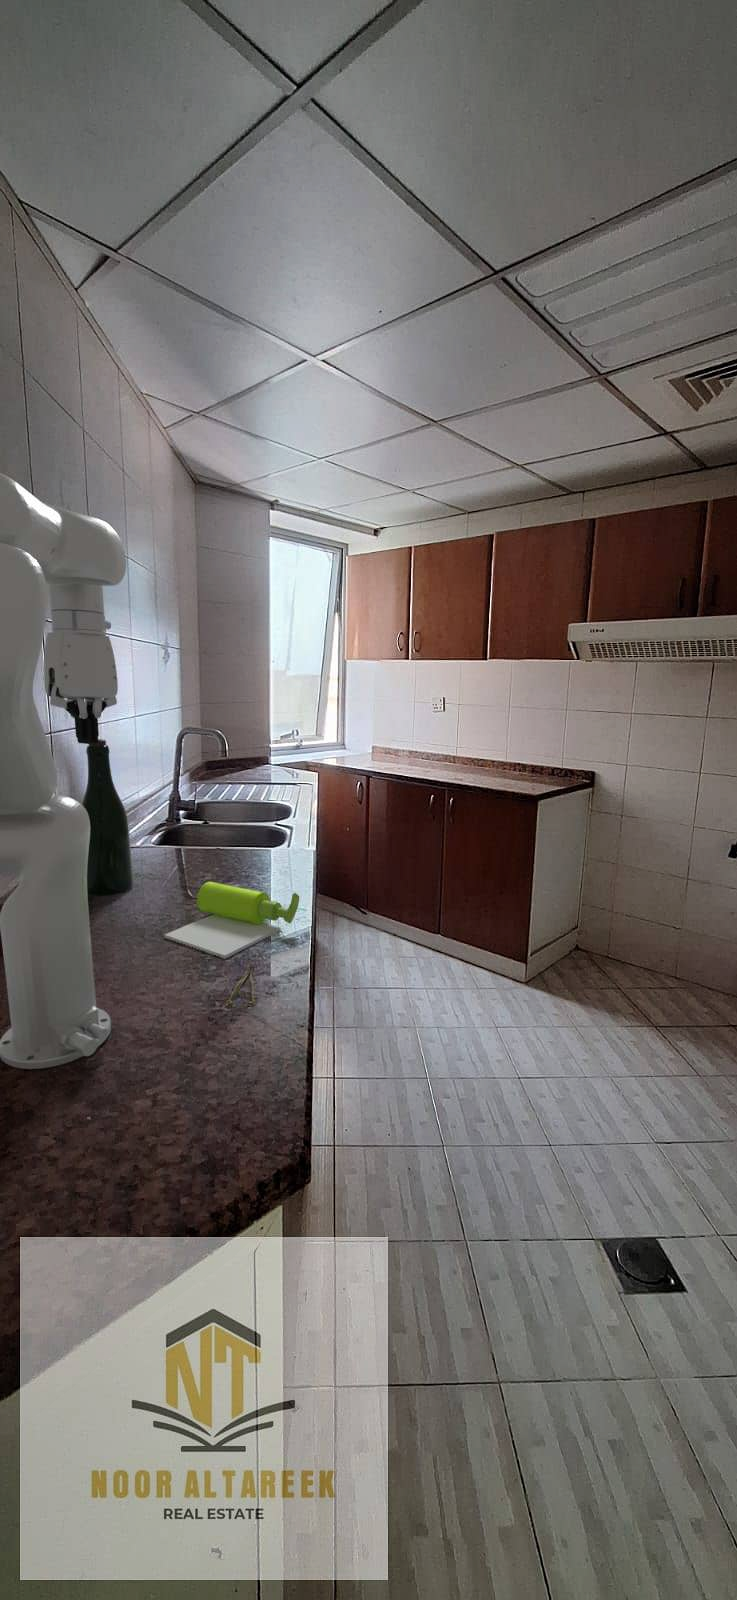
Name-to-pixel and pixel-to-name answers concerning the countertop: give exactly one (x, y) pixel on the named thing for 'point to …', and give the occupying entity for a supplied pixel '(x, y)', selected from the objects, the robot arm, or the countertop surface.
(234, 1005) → the tongs
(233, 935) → the grey mat
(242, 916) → the soap dispenser
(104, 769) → the green wine bottle
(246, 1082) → the countertop surface
